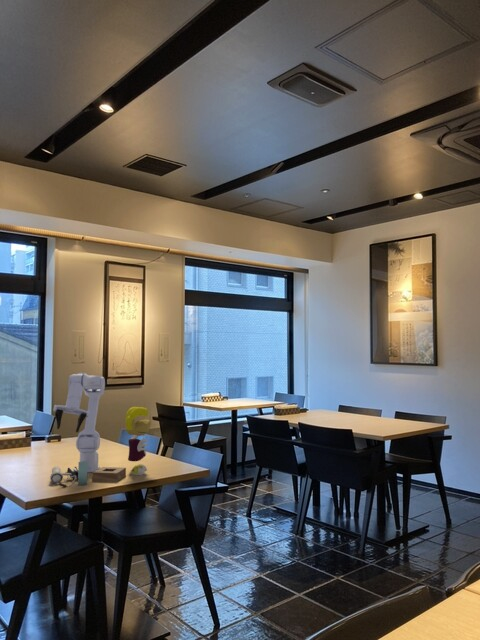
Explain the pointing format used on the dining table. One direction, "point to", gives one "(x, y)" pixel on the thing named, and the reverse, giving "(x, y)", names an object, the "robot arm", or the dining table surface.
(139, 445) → the toy
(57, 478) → the clip-on lamp
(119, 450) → the dining table surface
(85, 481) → the teal peg
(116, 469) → the socket block
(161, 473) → the dining table surface
